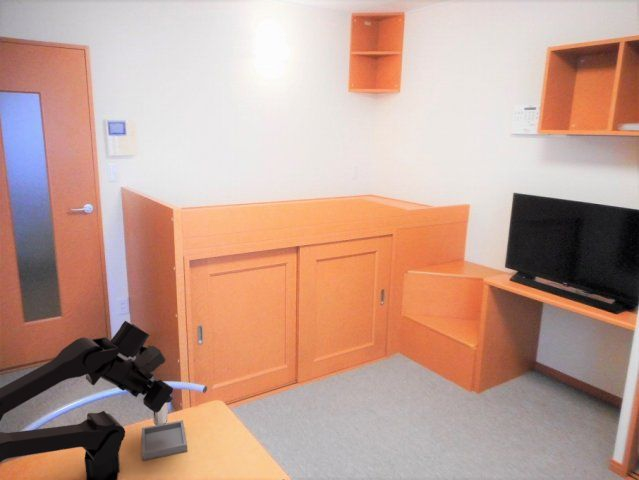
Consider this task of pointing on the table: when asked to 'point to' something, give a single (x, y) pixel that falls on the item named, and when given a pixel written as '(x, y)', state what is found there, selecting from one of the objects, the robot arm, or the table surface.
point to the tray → (163, 440)
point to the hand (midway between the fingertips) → (166, 396)
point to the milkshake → (161, 415)
